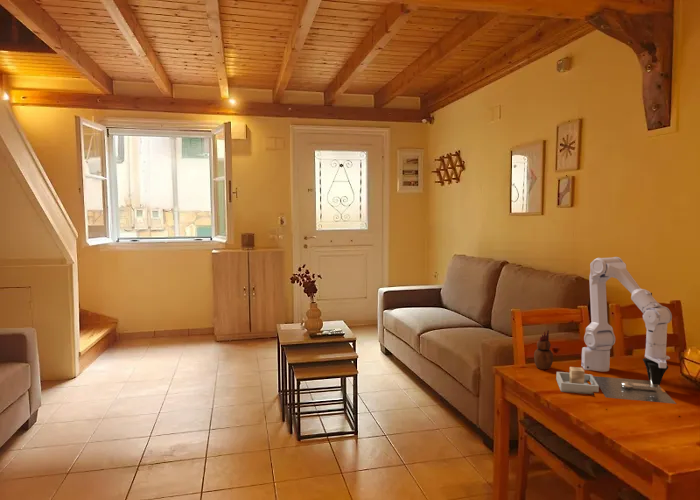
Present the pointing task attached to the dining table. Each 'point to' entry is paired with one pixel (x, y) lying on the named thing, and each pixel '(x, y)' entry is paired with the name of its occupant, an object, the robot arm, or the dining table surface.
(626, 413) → the dining table surface
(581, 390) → the tray
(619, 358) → the dining table surface
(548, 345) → the wooden figurine
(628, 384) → the crank
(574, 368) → the block
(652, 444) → the dining table surface
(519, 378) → the dining table surface
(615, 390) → the base plate
